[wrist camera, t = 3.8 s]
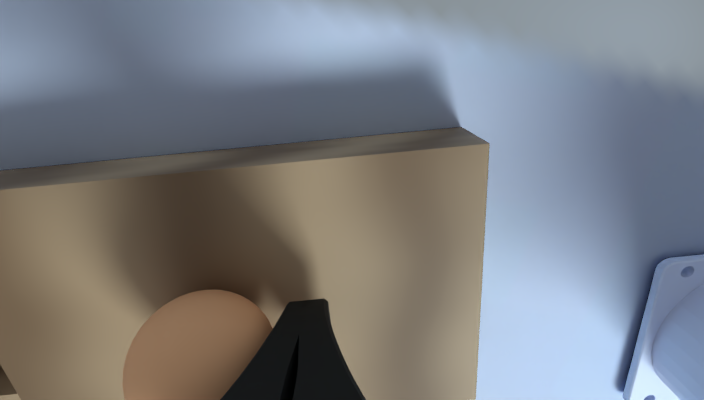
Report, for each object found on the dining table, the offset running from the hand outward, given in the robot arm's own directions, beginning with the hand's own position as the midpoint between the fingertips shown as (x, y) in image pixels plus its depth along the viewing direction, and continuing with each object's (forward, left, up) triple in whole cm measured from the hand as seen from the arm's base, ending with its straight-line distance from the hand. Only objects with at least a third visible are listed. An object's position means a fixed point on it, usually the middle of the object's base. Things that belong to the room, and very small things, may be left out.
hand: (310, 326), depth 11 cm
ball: (+3, 0, +1) cm, 3 cm away
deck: (+6, 0, -3) cm, 7 cm away
